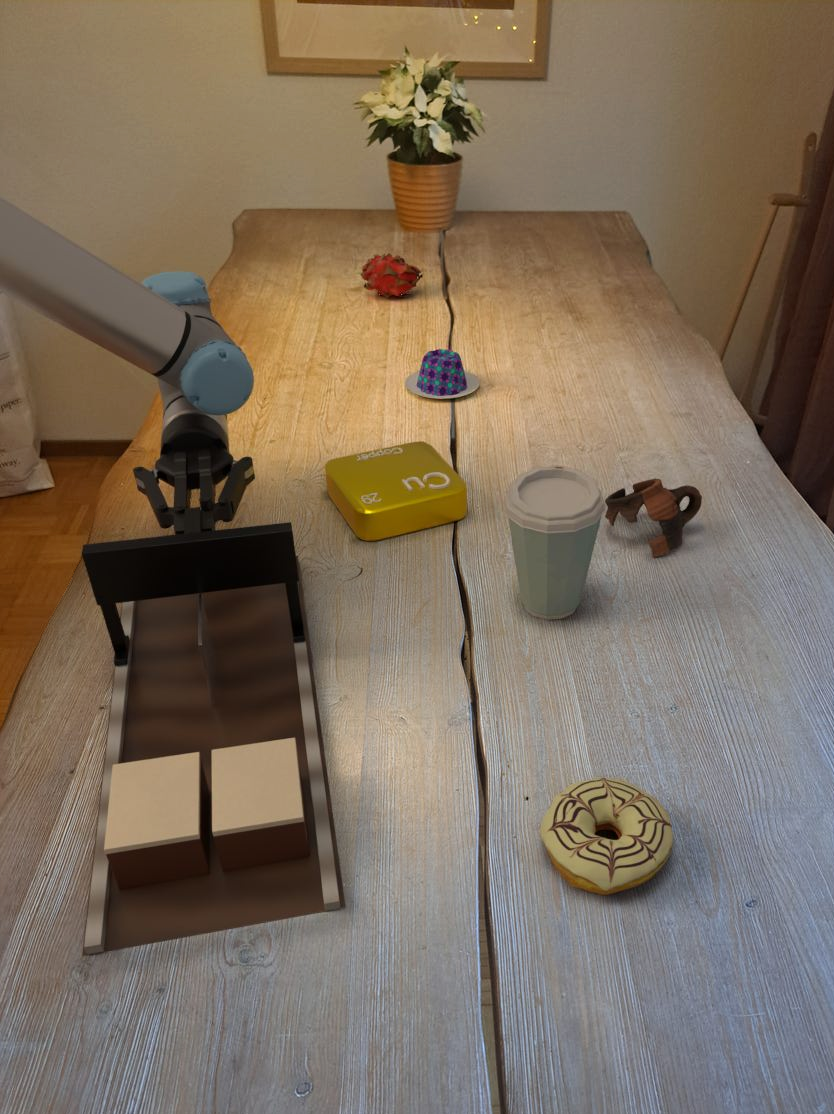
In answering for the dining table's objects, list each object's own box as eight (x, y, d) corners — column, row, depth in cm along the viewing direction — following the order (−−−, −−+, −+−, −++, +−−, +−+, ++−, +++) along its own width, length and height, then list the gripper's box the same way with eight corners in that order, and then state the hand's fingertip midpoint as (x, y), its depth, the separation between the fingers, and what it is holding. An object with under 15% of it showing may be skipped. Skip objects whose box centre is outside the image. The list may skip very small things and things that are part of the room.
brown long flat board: (127, 583, 108) (122, 567, 107) (298, 563, 112) (296, 547, 110) (85, 965, 70) (78, 948, 69) (347, 916, 74) (344, 900, 72)
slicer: (117, 647, 97) (84, 537, 88) (305, 623, 100) (290, 515, 92) (109, 719, 89) (71, 605, 80) (314, 690, 92) (298, 578, 83)
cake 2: (221, 789, 82) (211, 749, 79) (301, 776, 84) (295, 737, 80) (222, 871, 76) (212, 831, 72) (310, 856, 77) (303, 816, 74)
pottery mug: (636, 570, 112) (613, 506, 110) (609, 559, 121) (587, 500, 119) (724, 530, 113) (704, 466, 111) (690, 523, 122) (671, 463, 120)
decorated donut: (515, 848, 79) (517, 819, 77) (596, 782, 85) (600, 753, 83) (612, 924, 73) (617, 895, 71) (692, 847, 79) (699, 818, 77)
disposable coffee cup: (590, 638, 101) (603, 519, 92) (491, 626, 103) (494, 507, 93) (598, 581, 109) (611, 467, 100) (507, 571, 111) (511, 457, 101)
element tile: (426, 466, 130) (425, 434, 127) (472, 518, 120) (472, 485, 117) (323, 489, 125) (319, 456, 122) (361, 545, 115) (358, 511, 112)
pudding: (492, 380, 152) (493, 349, 149) (457, 409, 144) (457, 376, 141) (428, 366, 157) (427, 335, 153) (390, 393, 148) (389, 361, 145)
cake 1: (126, 804, 81) (112, 764, 78) (209, 791, 82) (199, 751, 79) (119, 889, 74) (103, 849, 71) (209, 874, 75) (198, 834, 72)
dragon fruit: (357, 302, 184) (418, 310, 186) (360, 289, 176) (423, 296, 178) (360, 258, 184) (421, 266, 186) (362, 242, 175) (426, 251, 177)
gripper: (257, 465, 112) (268, 577, 94) (143, 476, 110) (133, 593, 92) (248, 407, 107) (257, 513, 90) (129, 417, 105) (115, 528, 87)
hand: (194, 553), depth 91 cm, fingers closed
